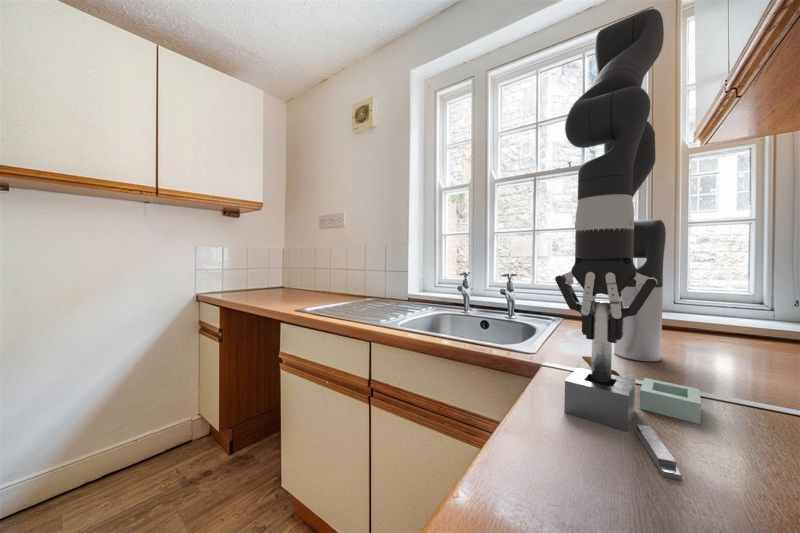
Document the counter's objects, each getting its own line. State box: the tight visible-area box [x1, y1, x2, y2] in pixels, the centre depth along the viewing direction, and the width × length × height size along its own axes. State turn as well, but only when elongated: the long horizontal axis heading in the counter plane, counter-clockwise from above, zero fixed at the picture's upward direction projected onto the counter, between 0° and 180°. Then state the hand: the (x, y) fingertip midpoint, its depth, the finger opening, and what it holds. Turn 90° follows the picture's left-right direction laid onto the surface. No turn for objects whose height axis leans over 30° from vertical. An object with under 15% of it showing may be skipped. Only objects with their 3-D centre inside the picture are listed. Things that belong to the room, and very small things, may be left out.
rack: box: [639, 377, 702, 425], centre depth 50 cm, size 7×7×3 cm
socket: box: [563, 367, 636, 432], centre depth 49 cm, size 8×8×5 cm
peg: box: [591, 300, 613, 382], centre depth 49 cm, size 3×3×12 cm
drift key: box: [635, 423, 683, 481], centre depth 38 cm, size 9×2×1 cm, turn 158°
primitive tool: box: [581, 355, 621, 376], centre depth 67 cm, size 19×6×4 cm, turn 159°
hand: (601, 339), depth 49 cm, fingers closed on peg, 2 cm apart
